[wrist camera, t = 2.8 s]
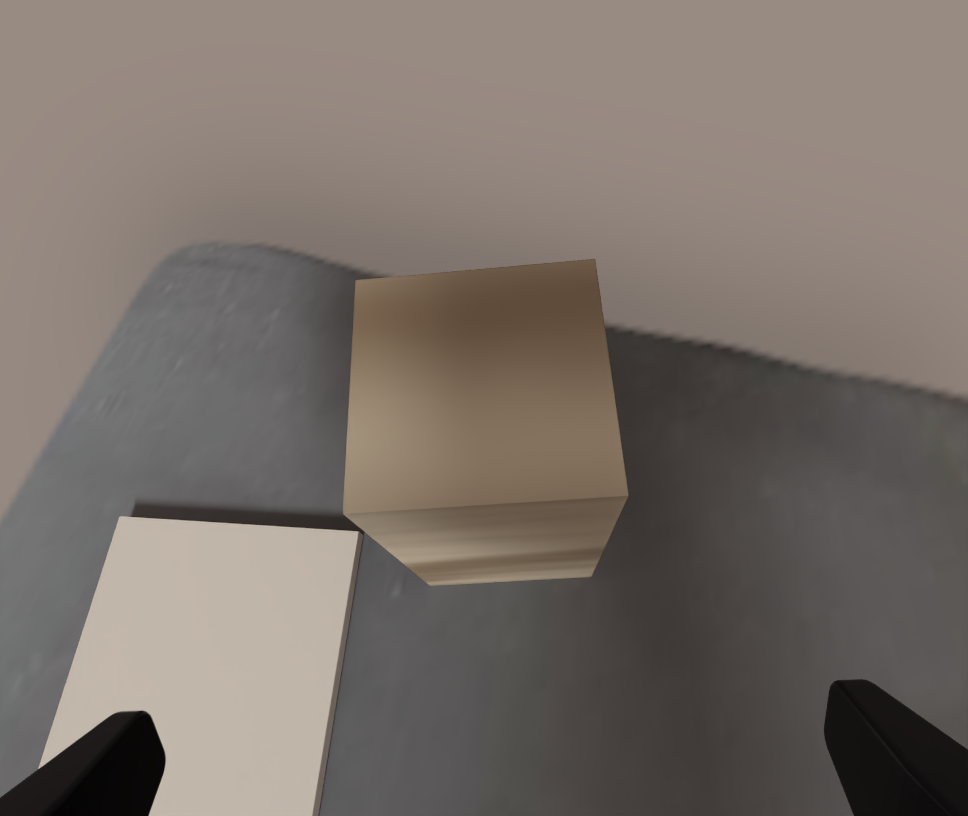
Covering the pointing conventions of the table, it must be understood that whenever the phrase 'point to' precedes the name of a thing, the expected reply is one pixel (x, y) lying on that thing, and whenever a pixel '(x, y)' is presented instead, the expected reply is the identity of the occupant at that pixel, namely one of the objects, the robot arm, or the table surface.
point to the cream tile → (219, 659)
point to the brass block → (484, 423)
